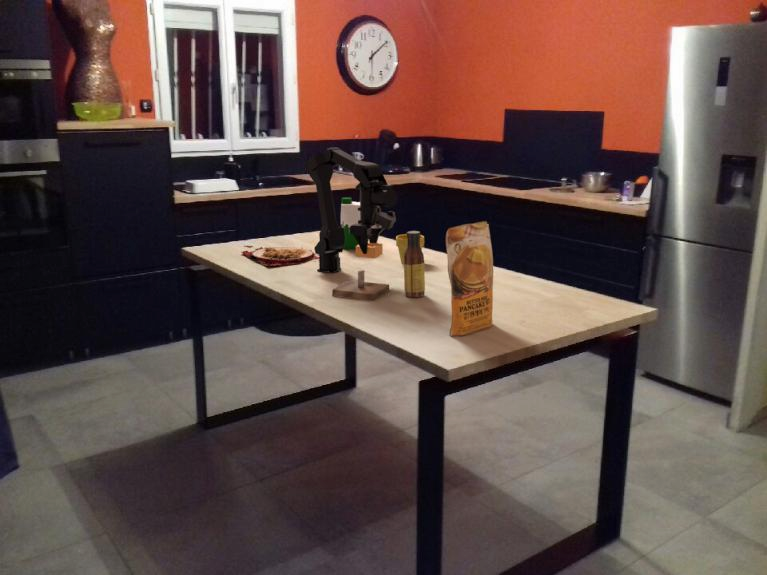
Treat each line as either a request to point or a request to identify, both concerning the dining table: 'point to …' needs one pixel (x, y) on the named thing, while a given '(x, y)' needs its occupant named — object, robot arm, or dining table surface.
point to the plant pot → (405, 244)
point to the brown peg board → (360, 289)
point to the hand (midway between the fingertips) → (369, 251)
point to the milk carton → (349, 220)
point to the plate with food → (281, 255)
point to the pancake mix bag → (470, 277)
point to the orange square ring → (370, 251)
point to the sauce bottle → (414, 266)
